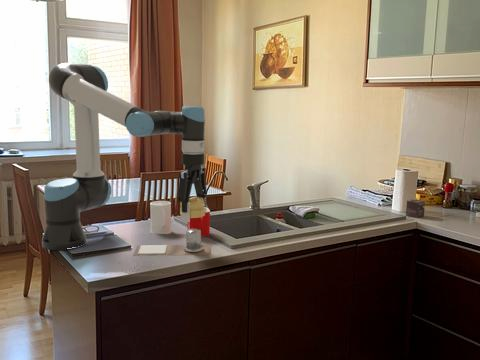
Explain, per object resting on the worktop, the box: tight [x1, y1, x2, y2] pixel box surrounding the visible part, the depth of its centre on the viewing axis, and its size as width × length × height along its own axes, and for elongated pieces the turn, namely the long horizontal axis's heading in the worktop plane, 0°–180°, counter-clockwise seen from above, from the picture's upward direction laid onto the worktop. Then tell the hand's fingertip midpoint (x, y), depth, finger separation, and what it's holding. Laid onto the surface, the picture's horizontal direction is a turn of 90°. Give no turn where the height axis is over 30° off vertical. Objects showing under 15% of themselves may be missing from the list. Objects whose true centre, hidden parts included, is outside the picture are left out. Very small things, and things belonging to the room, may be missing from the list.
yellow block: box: [179, 196, 205, 218], centre depth 162 cm, size 8×8×6 cm
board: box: [132, 244, 212, 257], centre depth 165 cm, size 26×11×1 cm, turn 95°
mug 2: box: [186, 206, 211, 237], centre depth 182 cm, size 12×8×11 cm
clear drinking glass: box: [183, 229, 204, 253], centre depth 164 cm, size 7×7×7 cm
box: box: [405, 198, 426, 219], centre depth 221 cm, size 6×6×7 cm
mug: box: [149, 200, 173, 235], centre depth 188 cm, size 12×8×12 cm
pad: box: [138, 244, 168, 255], centre depth 164 cm, size 9×9×1 cm
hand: (192, 218), depth 163 cm, fingers closed on yellow block, 8 cm apart
